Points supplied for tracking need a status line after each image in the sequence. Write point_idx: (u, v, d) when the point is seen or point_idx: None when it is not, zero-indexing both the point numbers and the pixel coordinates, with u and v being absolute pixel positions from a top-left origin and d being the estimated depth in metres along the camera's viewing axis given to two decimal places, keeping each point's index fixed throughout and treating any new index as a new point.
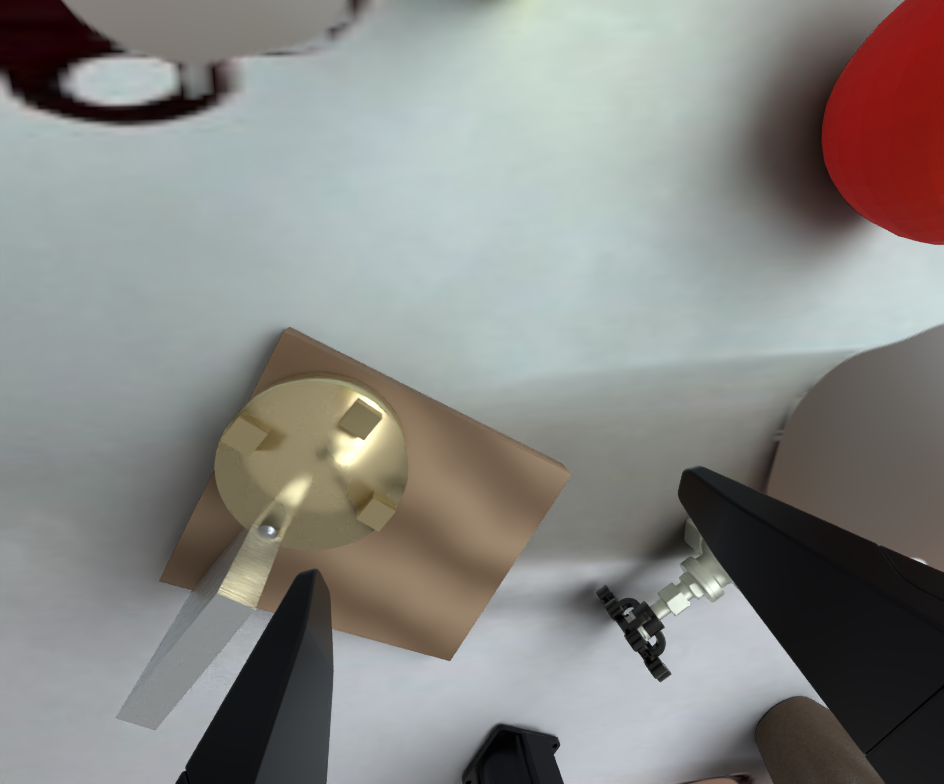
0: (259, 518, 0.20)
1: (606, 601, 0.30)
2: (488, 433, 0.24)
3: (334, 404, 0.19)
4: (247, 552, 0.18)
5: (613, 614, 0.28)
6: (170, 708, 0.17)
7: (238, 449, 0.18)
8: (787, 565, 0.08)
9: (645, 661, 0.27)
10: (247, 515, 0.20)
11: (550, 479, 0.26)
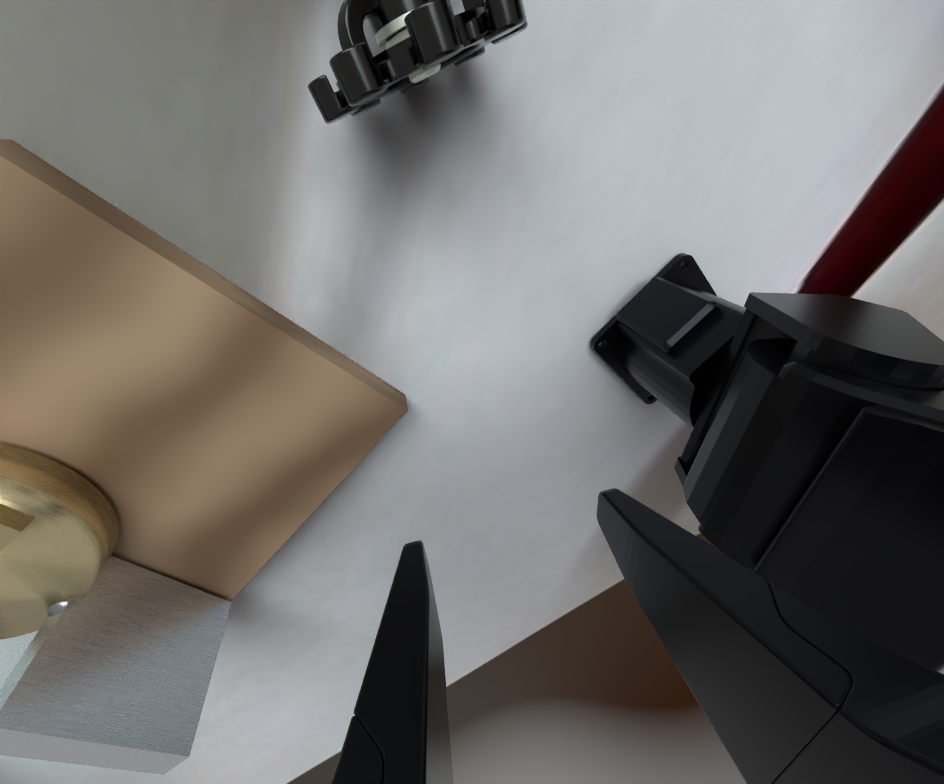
0: (37, 614, 0.17)
1: None
2: None
3: None
4: (21, 661, 0.16)
5: (328, 110, 0.12)
6: (157, 753, 0.16)
7: None
8: (682, 599, 0.07)
9: (420, 63, 0.10)
10: (34, 621, 0.17)
11: None
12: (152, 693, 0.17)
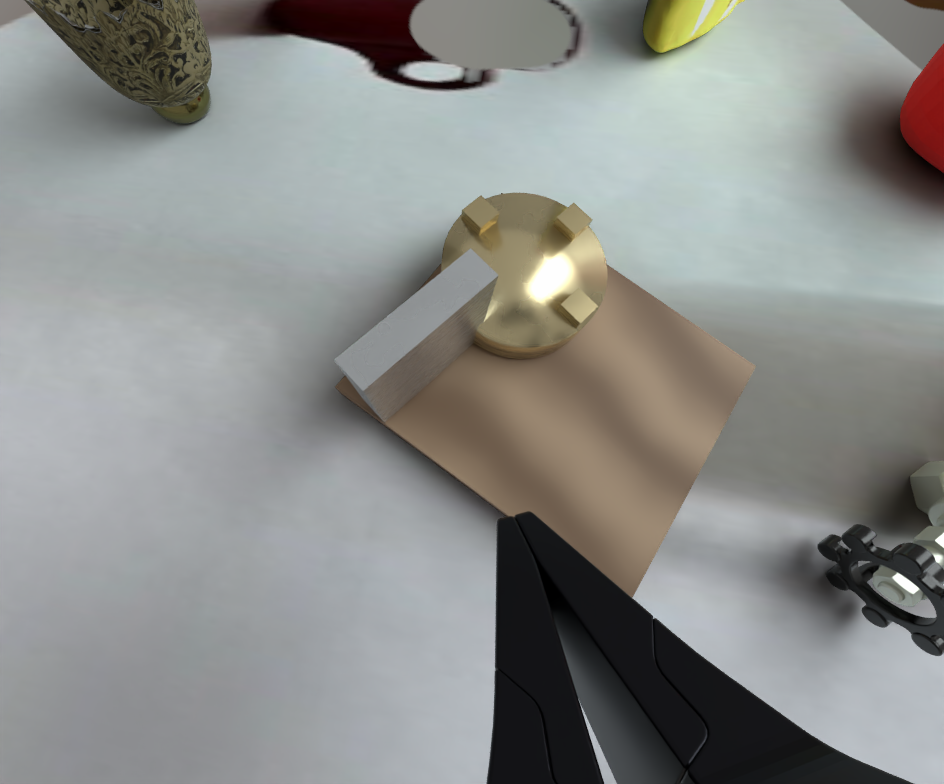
0: None
1: (839, 548, 0.22)
2: (665, 305, 0.25)
3: (549, 212, 0.23)
4: None
5: (862, 536, 0.21)
6: (388, 365, 0.15)
7: (472, 221, 0.21)
8: (573, 634, 0.07)
9: (943, 594, 0.18)
10: None
11: (733, 366, 0.24)
12: (414, 364, 0.17)
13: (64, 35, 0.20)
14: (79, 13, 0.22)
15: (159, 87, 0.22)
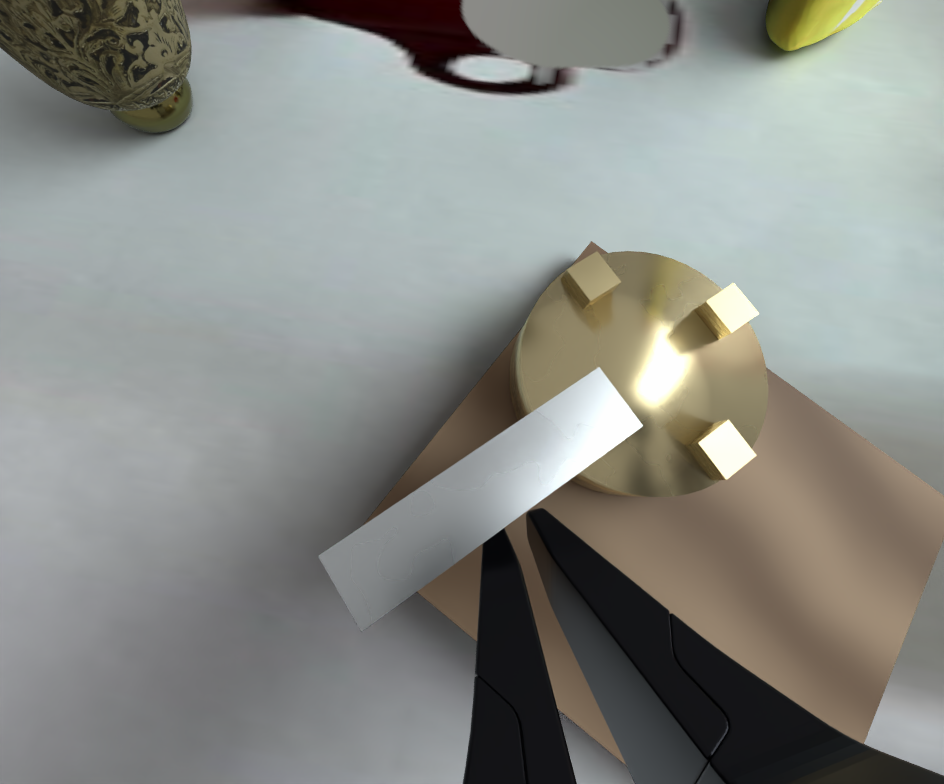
0: None
1: None
2: (823, 411, 0.18)
3: (691, 290, 0.15)
4: None
5: None
6: (418, 584, 0.08)
7: (578, 289, 0.14)
8: (589, 628, 0.07)
9: None
10: (542, 391, 0.14)
11: (925, 506, 0.17)
12: None
13: None
14: None
15: (109, 82, 0.15)
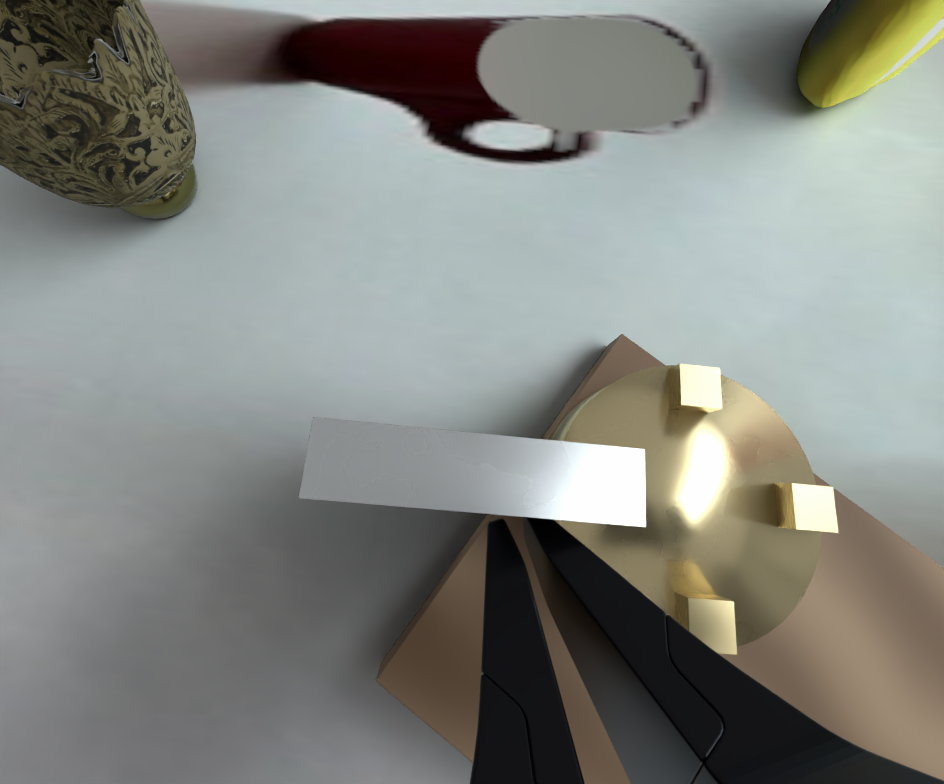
0: None
1: None
2: (871, 517, 0.17)
3: (784, 464, 0.14)
4: None
5: None
6: (365, 498, 0.08)
7: (678, 388, 0.13)
8: (585, 630, 0.07)
9: None
10: None
11: None
12: None
13: None
14: None
15: (109, 189, 0.14)
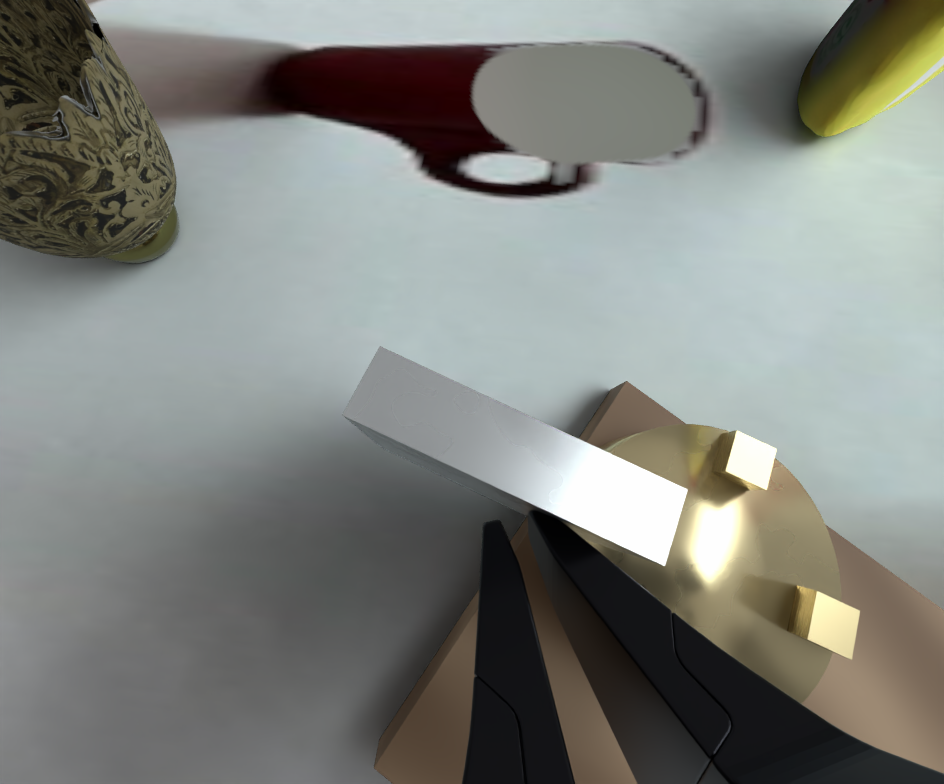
0: None
1: None
2: (886, 570, 0.16)
3: (813, 570, 0.13)
4: None
5: None
6: (402, 438, 0.08)
7: (727, 454, 0.13)
8: (591, 628, 0.07)
9: None
10: None
11: None
12: (447, 470, 0.10)
13: None
14: None
15: (81, 243, 0.13)
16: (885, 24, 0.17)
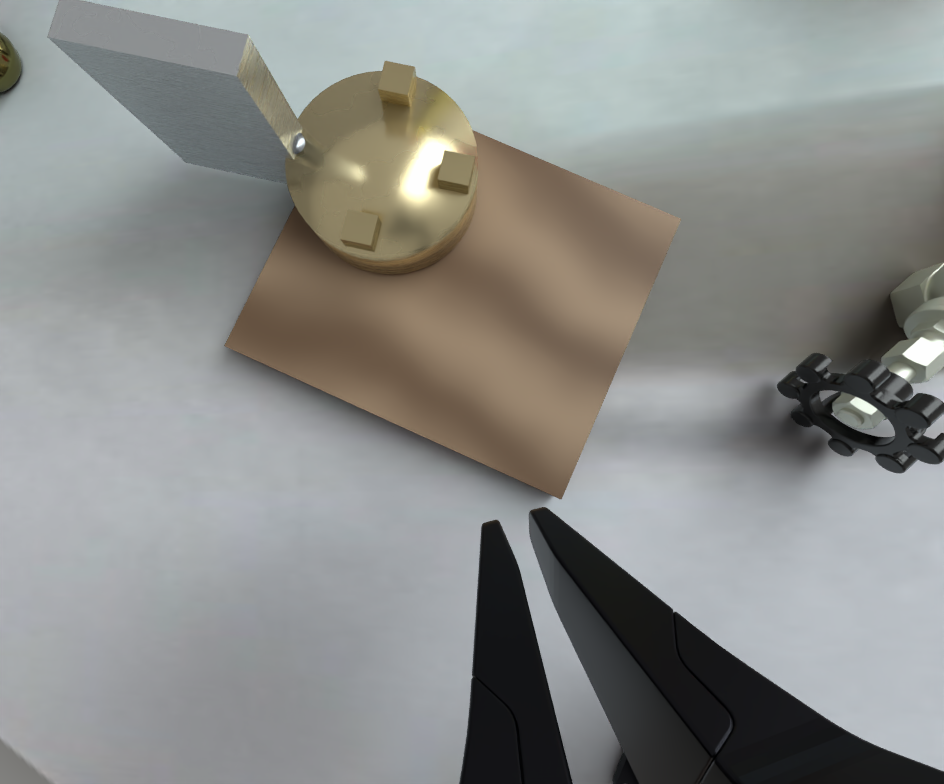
0: (310, 131, 0.19)
1: (798, 384, 0.20)
2: (567, 172, 0.22)
3: (457, 148, 0.19)
4: (281, 102, 0.17)
5: (815, 365, 0.19)
6: (82, 41, 0.14)
7: (381, 79, 0.19)
8: (592, 627, 0.07)
9: (897, 407, 0.17)
10: (310, 120, 0.19)
11: (654, 225, 0.21)
12: (153, 93, 0.16)
13: None
14: None
15: None
16: None
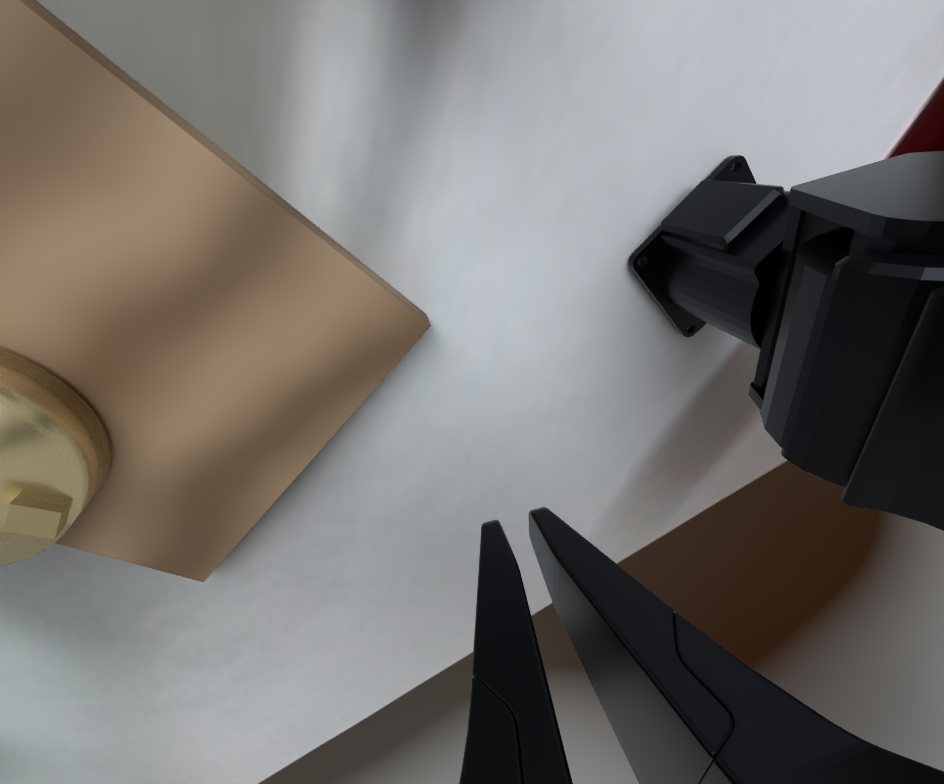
0: None
1: None
2: None
3: None
4: None
5: None
6: None
7: None
8: (592, 627, 0.07)
9: None
10: None
11: None
12: None
13: None
14: None
15: None
16: None
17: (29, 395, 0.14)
